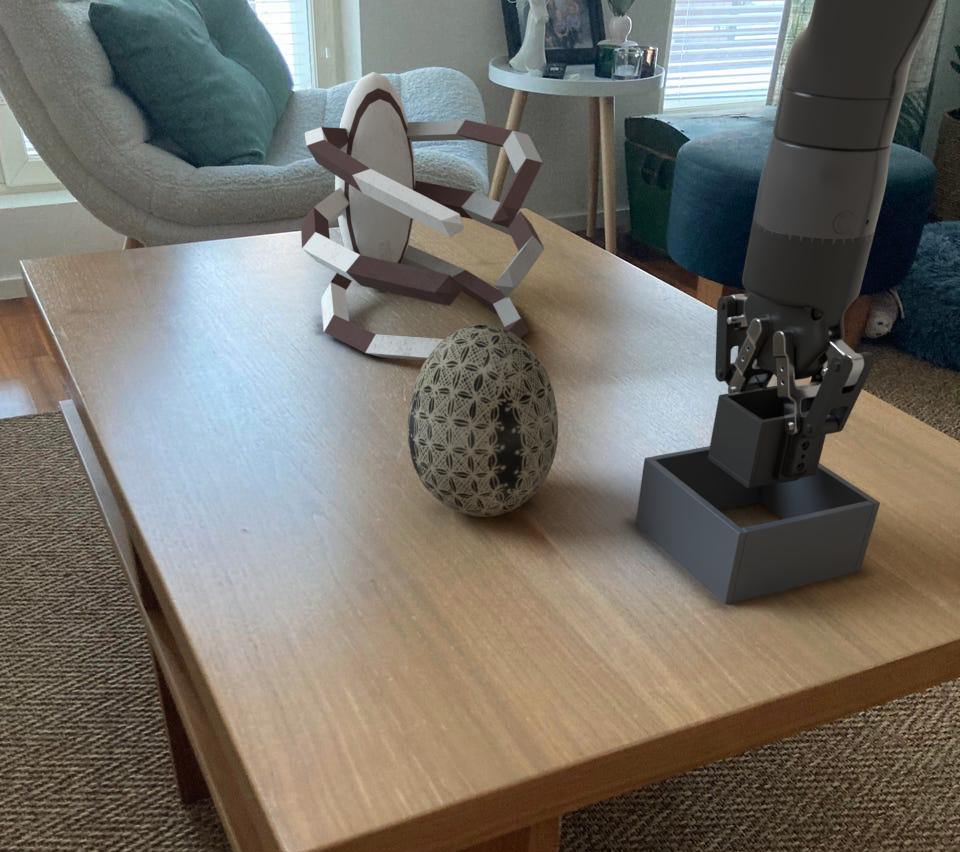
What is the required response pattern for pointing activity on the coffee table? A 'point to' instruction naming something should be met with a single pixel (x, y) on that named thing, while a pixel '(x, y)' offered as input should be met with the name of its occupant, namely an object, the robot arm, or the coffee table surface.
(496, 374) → the decorative egg
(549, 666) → the coffee table surface
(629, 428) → the coffee table surface
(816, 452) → the small bin
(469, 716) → the coffee table surface
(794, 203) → the robot arm
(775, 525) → the grey bin
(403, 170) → the segmented loop sculpture
